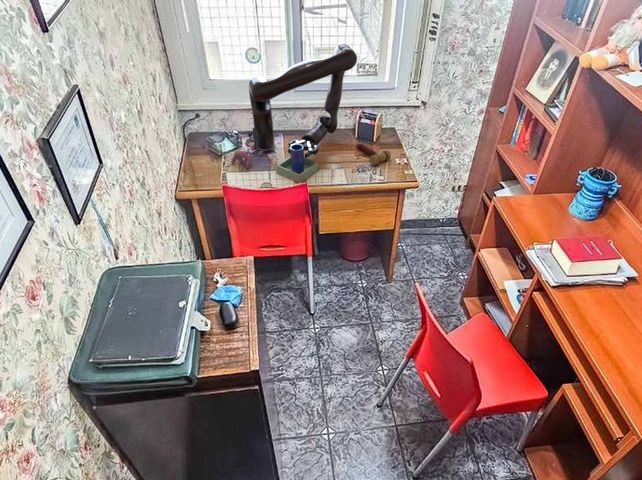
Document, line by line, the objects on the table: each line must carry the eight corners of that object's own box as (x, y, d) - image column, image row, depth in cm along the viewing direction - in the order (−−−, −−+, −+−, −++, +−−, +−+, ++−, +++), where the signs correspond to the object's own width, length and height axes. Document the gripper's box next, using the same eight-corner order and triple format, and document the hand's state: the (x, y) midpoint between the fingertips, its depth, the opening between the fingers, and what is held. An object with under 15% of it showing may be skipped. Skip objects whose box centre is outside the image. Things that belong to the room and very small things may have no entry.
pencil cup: (288, 171, 221) (287, 147, 212) (296, 165, 224) (295, 142, 215) (298, 175, 219) (297, 152, 210) (306, 169, 222) (306, 146, 213)
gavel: (348, 142, 235) (363, 136, 239) (348, 151, 238) (363, 145, 242) (375, 158, 223) (391, 151, 227) (375, 166, 226) (390, 160, 230)
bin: (276, 173, 220) (276, 165, 217) (295, 160, 228) (294, 153, 225) (300, 183, 215) (299, 175, 212) (318, 170, 223) (318, 162, 220)
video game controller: (252, 168, 225) (254, 153, 222) (247, 168, 221) (249, 153, 218) (235, 163, 227) (237, 148, 225) (230, 163, 223) (231, 148, 221)
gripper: (299, 127, 224) (283, 142, 214) (325, 134, 221) (310, 150, 211) (299, 142, 230) (283, 157, 220) (325, 149, 226) (311, 165, 216)
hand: (297, 154), depth 215 cm, fingers open, 8 cm apart
